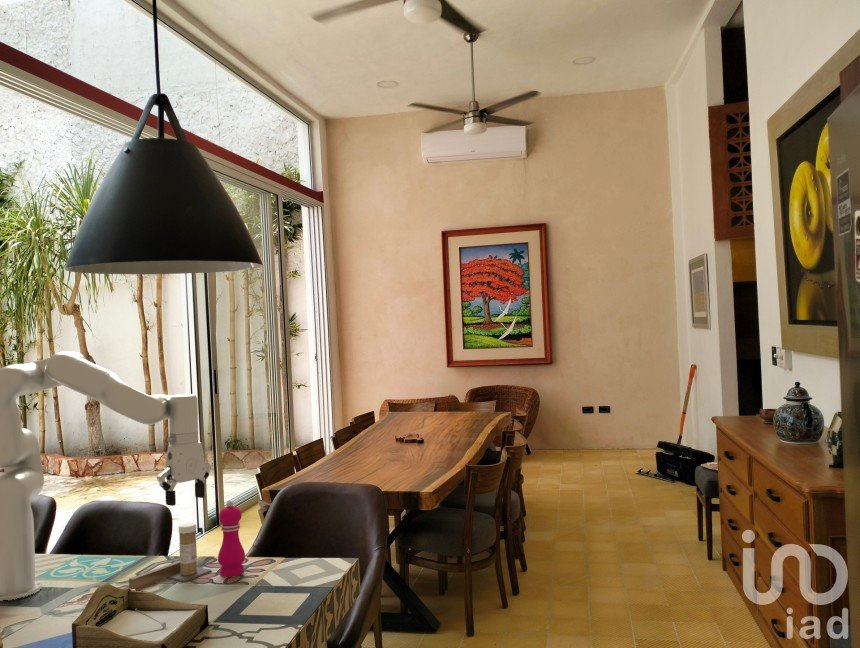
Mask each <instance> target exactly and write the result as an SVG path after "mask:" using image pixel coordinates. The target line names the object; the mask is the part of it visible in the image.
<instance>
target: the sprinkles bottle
mask: <svg viewBox="0 0 860 648" xmlns="http://www.w3.org/2000/svg"><path fill="white" fill-rule="evenodd" d="M178 534H179V560H180V570H181V571H180V574H181V575H192V574H195V573H196V572H197V567H198V566H197V564H198V563H197V560H198V556H197V555H198V554H197V553H198V550H197V538H196V537H197V536H196V535H197V523H196V522H185V523H180V524H179V525H178Z"/></svg>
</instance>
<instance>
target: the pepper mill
mask: <svg viewBox="0 0 860 648" xmlns="http://www.w3.org/2000/svg"><path fill="white" fill-rule="evenodd" d="M242 515H243V514H242V511H241V509H240V508H239V507H238V506H235V505H234V502H233V501H232V500H228V501H227V502H226V506H225V507H223V508H222V509H221V510H220V511H219V514H218V520H219V523H221V525H220V527H221V531H222V543H221V546H220V549H219V551H218V554H217V556H218V557H217V562H218V564H219V565H220V566H221V567H219V575H220V576H221V577H222V576H223V578H233V577H232V576H235V577H238V575H239V576H241V575H243V574H244V572H245V568H244V564H243V562H244V561H245V560H246V552H245V549H244V547H243V545H242V543H241V540H240V535H239V531H240V529H241V523H240V521H241V519H242ZM242 573H243V574H242ZM240 574H241V575H240Z"/></svg>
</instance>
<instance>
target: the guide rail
mask: <svg viewBox="0 0 860 648" xmlns="http://www.w3.org/2000/svg"><path fill="white" fill-rule="evenodd" d="M180 571H181V570H180V559H179V560H177V561H175V562H172V563H168V564H166V565H163V566H159V567H158V568H155V569H152V570H149V571H146V572H144V573H141V574H138V575H135V576H132V577H129V578H128V587H129V588H131V589H137V590H139V589H142V588H145V587H148V586H150V585H152V584H155V583H158V582H160V581H164V580H166V579H169V578H168V576H170V575H173V574H176V573H178V572H180ZM129 588H128V589H129Z"/></svg>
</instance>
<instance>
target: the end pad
mask: <svg viewBox="0 0 860 648" xmlns="http://www.w3.org/2000/svg"><path fill="white" fill-rule="evenodd" d="M210 573H212V569H209V568H205V567H199V566H197V572H196V573H195V574H192V575H181V574H180V572H178V573H176V574H173V575H170V576H168V578H167V579H170V580H174V581H178V582H182V583H187V582H190V581H191V580H194V579H197V578H199V577H202V576H205V575H207V574H210Z"/></svg>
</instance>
